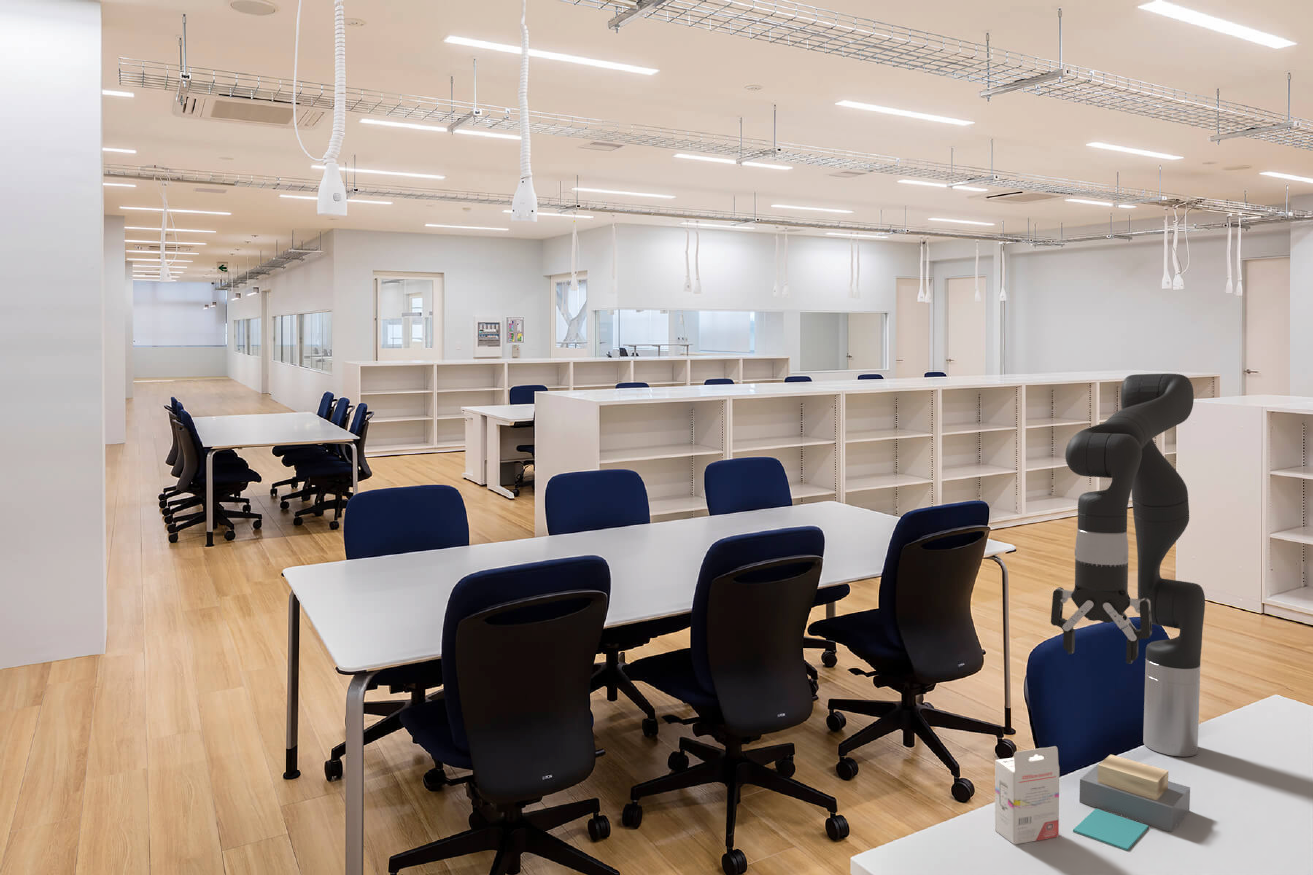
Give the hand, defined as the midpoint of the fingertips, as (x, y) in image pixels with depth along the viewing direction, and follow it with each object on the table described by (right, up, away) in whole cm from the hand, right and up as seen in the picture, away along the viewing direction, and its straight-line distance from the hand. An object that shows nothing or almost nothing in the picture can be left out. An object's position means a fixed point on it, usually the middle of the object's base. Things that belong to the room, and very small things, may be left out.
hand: (1099, 657), depth 138 cm
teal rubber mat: (+2, -28, 0) cm, 28 cm away
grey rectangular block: (+10, -27, +8) cm, 30 cm away
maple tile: (+9, -22, +7) cm, 24 cm away
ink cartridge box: (-12, -28, -1) cm, 31 cm away
